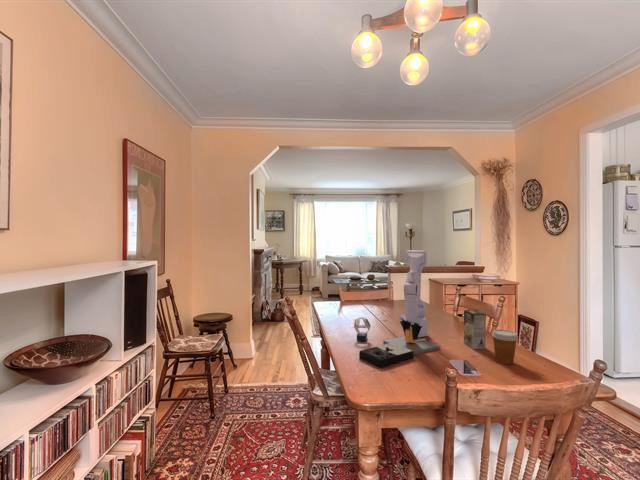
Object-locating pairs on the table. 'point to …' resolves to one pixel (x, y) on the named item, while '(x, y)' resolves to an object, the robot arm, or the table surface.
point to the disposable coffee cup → (504, 345)
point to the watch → (362, 335)
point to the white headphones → (358, 324)
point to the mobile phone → (465, 368)
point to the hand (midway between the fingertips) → (411, 337)
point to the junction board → (414, 345)
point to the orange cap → (409, 336)
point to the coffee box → (474, 329)
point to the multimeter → (386, 355)
